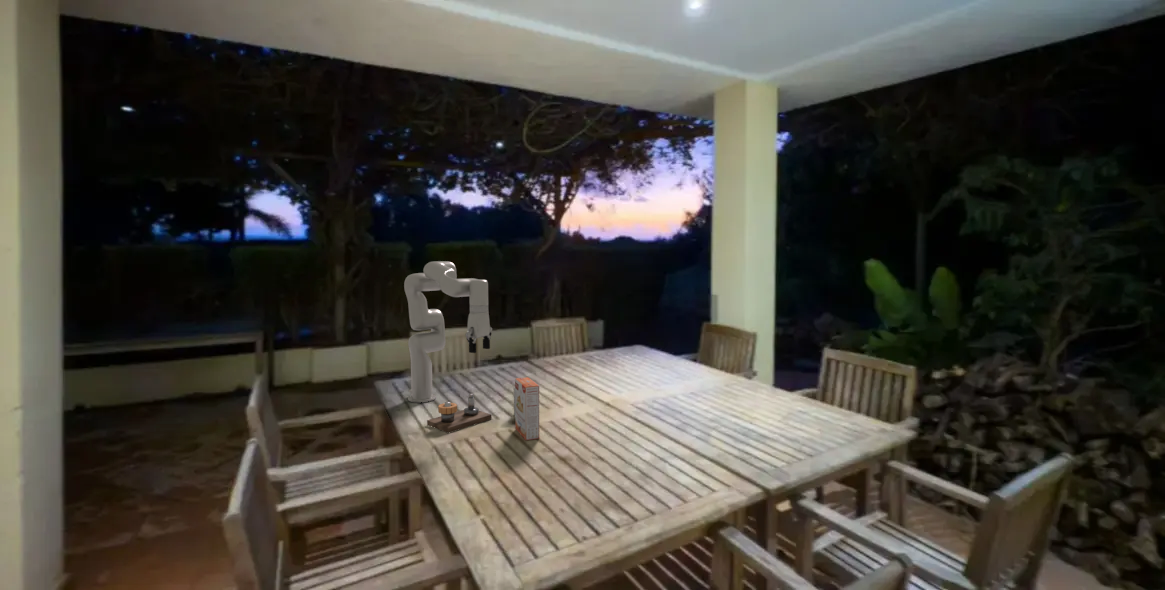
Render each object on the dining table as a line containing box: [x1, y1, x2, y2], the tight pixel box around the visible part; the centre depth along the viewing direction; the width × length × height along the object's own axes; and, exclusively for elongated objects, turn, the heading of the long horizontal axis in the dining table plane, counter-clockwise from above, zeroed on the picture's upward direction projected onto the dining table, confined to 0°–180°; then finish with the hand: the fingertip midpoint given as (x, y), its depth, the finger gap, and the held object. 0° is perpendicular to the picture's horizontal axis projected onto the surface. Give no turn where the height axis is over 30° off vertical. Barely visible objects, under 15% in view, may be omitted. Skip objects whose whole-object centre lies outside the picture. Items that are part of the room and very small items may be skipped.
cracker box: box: [514, 377, 540, 441], centre depth 204 cm, size 14×6×21 cm, turn 23°
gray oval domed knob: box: [440, 401, 455, 423], centre depth 213 cm, size 5×5×8 cm
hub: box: [463, 393, 480, 416], centre depth 223 cm, size 6×6×8 cm
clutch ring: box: [437, 402, 458, 414], centre depth 213 cm, size 7×7×2 cm
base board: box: [426, 409, 492, 434], centre depth 218 cm, size 14×22×2 cm, turn 141°
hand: (479, 350), depth 218 cm, fingers open, 9 cm apart
